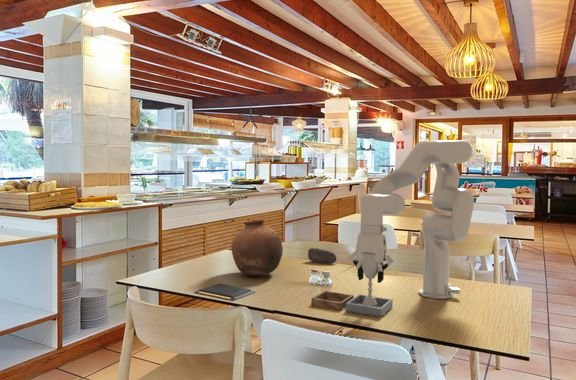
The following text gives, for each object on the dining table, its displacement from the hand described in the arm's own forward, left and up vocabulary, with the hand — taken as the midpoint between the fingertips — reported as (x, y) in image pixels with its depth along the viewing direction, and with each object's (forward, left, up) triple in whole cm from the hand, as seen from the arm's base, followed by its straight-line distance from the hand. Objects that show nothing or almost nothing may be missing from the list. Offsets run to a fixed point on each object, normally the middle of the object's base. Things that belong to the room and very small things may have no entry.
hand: (370, 280), depth 167 cm
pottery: (+61, -22, -11) cm, 66 cm away
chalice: (0, 0, -8) cm, 8 cm away
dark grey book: (+56, +9, -11) cm, 58 cm away
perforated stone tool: (+46, -60, -11) cm, 76 cm away
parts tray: (0, 0, -11) cm, 11 cm away
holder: (+14, 0, -11) cm, 18 cm away
